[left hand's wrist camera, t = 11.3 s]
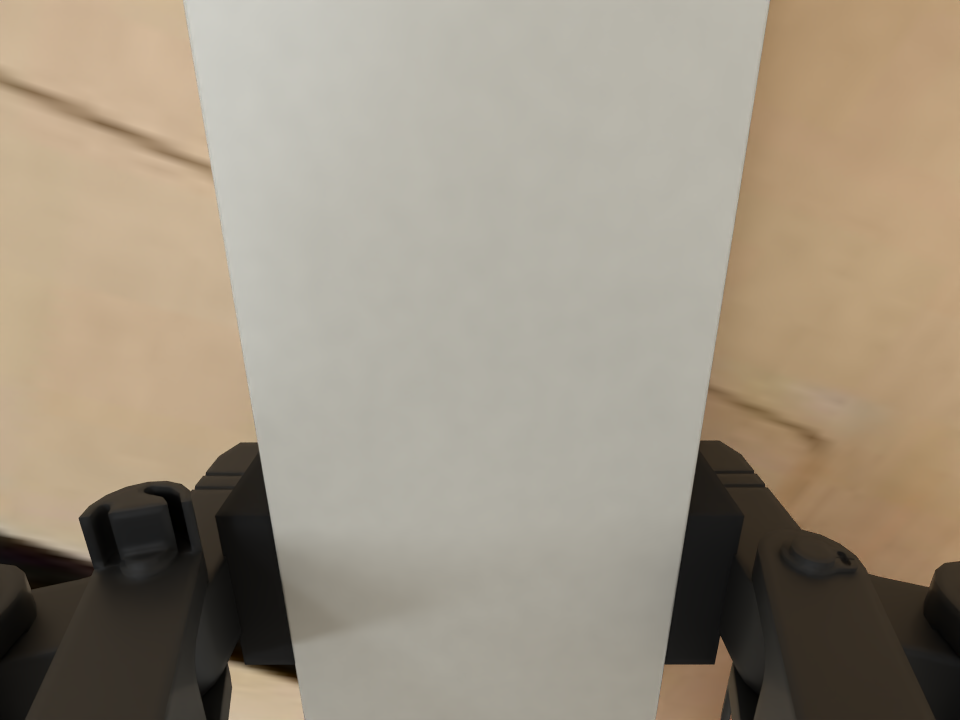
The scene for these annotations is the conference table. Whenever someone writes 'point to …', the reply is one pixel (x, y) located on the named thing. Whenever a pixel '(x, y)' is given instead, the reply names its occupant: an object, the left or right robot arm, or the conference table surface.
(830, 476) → the conference table surface
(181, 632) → the left robot arm
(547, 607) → the bar
